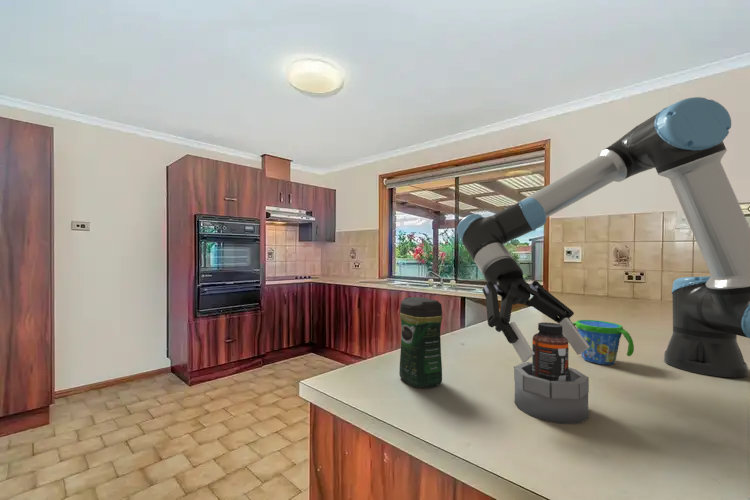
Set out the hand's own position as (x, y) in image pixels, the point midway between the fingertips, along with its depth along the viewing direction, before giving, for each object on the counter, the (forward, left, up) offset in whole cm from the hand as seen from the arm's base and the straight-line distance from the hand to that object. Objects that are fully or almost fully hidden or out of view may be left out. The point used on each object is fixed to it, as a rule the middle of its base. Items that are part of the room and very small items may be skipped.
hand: (557, 354), depth 60 cm
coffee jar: (+24, -13, -10) cm, 29 cm away
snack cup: (-25, -32, -10) cm, 42 cm away
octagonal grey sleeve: (+1, -2, -10) cm, 10 cm away
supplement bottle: (+1, -2, -6) cm, 7 cm away
